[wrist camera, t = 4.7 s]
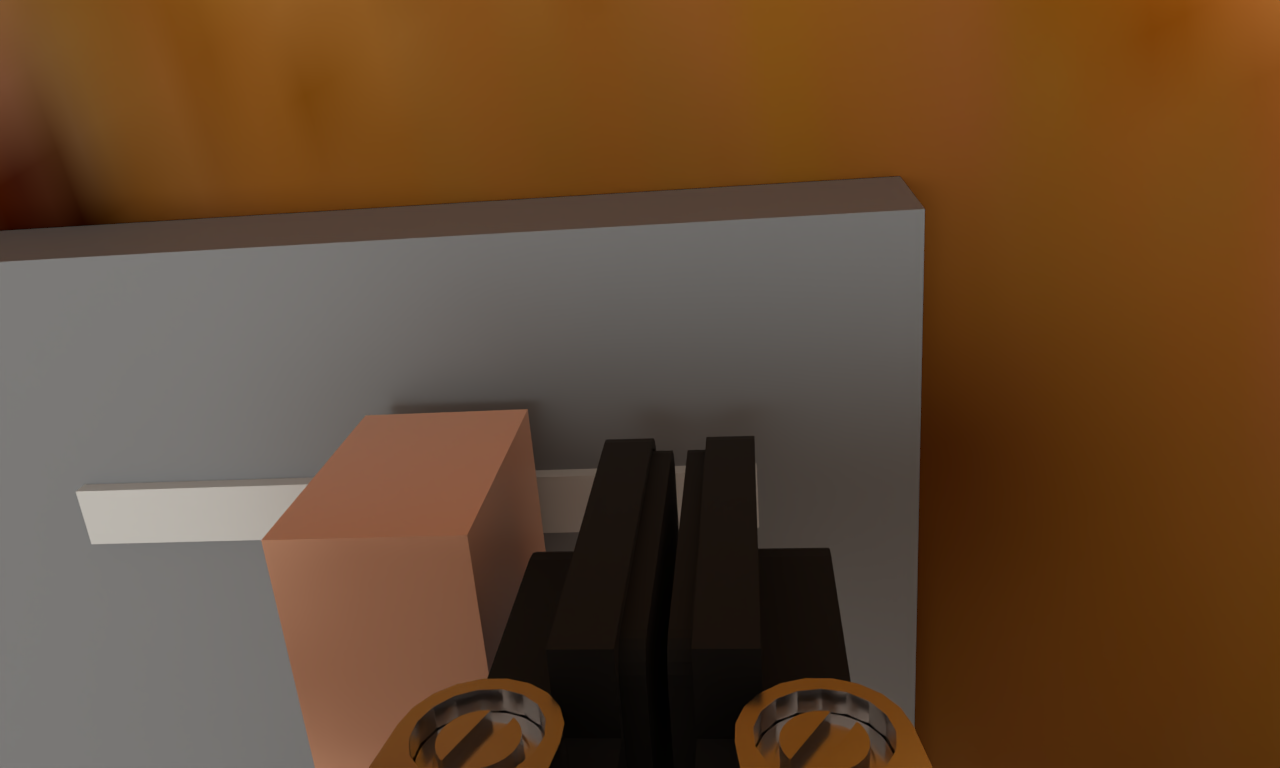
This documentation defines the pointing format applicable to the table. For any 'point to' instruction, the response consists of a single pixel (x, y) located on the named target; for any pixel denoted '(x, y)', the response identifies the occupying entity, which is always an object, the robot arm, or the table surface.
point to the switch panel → (420, 383)
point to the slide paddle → (402, 569)
